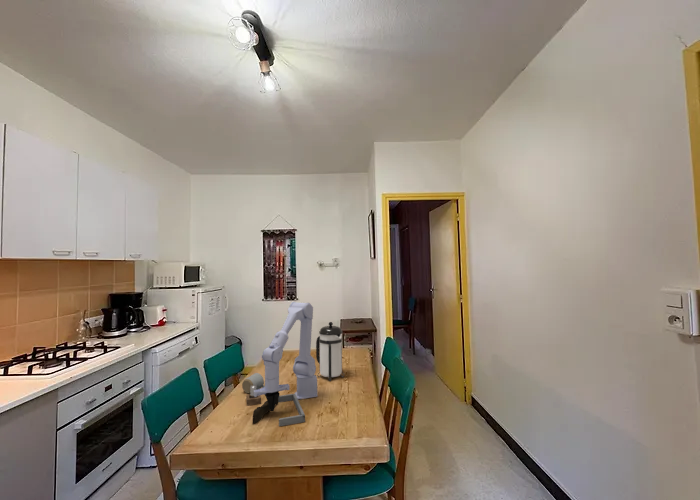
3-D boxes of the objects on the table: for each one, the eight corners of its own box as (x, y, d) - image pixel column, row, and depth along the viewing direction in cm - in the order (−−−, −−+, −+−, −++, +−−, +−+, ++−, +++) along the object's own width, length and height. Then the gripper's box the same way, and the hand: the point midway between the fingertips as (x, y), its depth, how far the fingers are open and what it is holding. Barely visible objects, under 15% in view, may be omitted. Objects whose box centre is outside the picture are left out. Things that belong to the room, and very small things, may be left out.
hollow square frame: (259, 398, 147) (260, 392, 147) (260, 403, 142) (261, 397, 142) (246, 400, 145) (246, 394, 145) (246, 405, 140) (246, 399, 140)
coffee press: (346, 372, 183) (345, 319, 185) (342, 382, 167) (342, 324, 169) (316, 371, 185) (316, 319, 187) (310, 381, 169) (310, 324, 171)
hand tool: (270, 403, 142) (270, 393, 142) (278, 404, 141) (278, 393, 141) (246, 424, 124) (246, 412, 124) (255, 425, 123) (255, 413, 123)
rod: (256, 400, 145) (256, 384, 146) (256, 402, 143) (256, 386, 143) (250, 401, 144) (250, 385, 145) (250, 403, 142) (250, 387, 142)
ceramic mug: (240, 393, 154) (241, 376, 154) (252, 387, 161) (252, 371, 162) (258, 396, 150) (258, 380, 150) (269, 390, 157) (269, 374, 158)
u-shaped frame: (294, 399, 146) (294, 393, 146) (305, 421, 125) (305, 415, 125) (272, 402, 143) (272, 396, 143) (279, 426, 121) (279, 419, 121)
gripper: (285, 371, 139) (285, 403, 139) (251, 377, 132) (251, 410, 131) (291, 376, 133) (291, 409, 133) (256, 382, 126) (255, 417, 125)
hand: (271, 410), depth 132 cm, fingers closed
